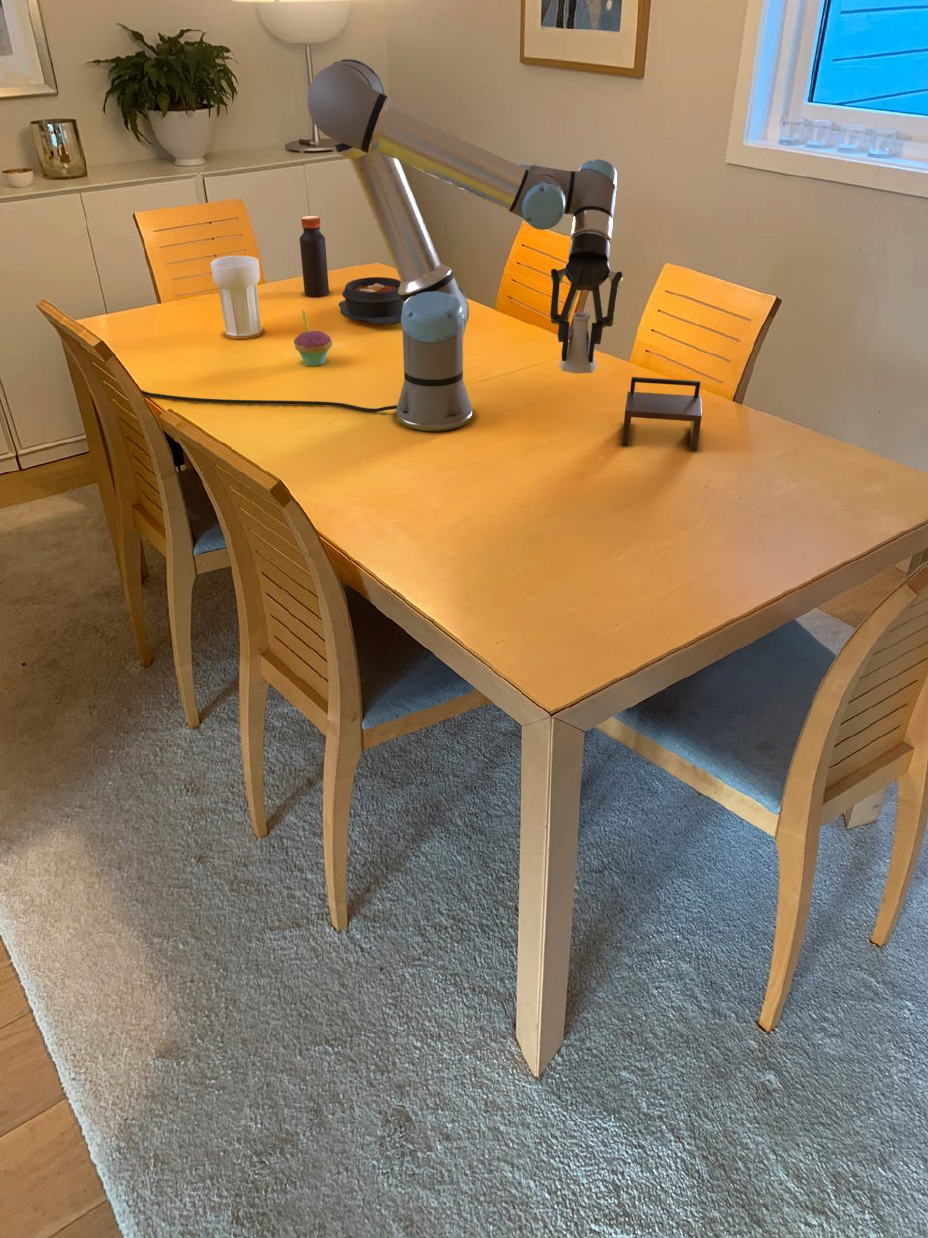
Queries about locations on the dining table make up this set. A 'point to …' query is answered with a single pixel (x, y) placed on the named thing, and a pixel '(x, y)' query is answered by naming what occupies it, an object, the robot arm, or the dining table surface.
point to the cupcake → (312, 345)
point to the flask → (579, 347)
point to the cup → (238, 295)
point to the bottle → (313, 258)
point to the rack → (664, 407)
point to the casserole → (372, 300)
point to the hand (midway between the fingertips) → (577, 358)
